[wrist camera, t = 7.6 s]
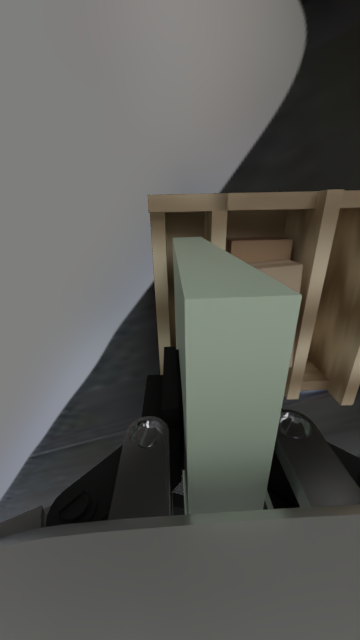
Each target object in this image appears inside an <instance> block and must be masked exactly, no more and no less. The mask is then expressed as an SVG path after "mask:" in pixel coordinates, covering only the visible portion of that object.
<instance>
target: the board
mask: <svg viewBox="0 0 360 640" xmlns="http://www.w3.org/2000/svg"><path fill="white" fill-rule="evenodd" d="M173 267H174V296H175V326H176V349H179V360H180V374H181V387H182V400H183V424H184V467H185V470H182V471H183V489H184V508H185V515H189V514H203V513H219V512H235V511H250V510H263V507H264V501H265V496H266V490H267V485H268V480H269V474H270V469H271V463H272V458H273V452H274V447H275V441H276V436H277V430H278V425H279V419H280V414H281V408H282V403H283V397H284V392H285V387H286V381H287V376H288V370H289V365H290V359H291V354H292V348H293V343H294V337H295V332H296V326H297V321H298V315H299V310H300V304H301V299H302V295H301V294H299V293H298V292H296V291H294V290H293V289H291V288H289V287H287V286H286V285H284V284H282V283H280V282H279V281H277V280H275V279H273V278H272V277H270V276H268V275H266V274H265V273H263V272H261V271H259V270H258V269H256V268H254V267H253V266H251V265H249V264H247V263H246V262H244V261H242V260H240V259H239V258H237V257H235V256H233V255H232V254H230V253H228V252H226V251H225V250H223V249H221V248H220V247H218V246H216V245H214V244H213V243H211V242H209V241H207V240H206V239H204V238H202V237H174V238H173Z"/></svg>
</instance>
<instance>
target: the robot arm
mask: <svg viewBox="0 0 360 640" xmlns="http://www.w3.org/2000/svg"><path fill="white" fill-rule="evenodd" d="M181 470H185V467H184V424H183V400H182V387H181V374H180V360H179V349H176V346H173V347H164V362H163V375H148V377H147V384H146V391H145V398H144V406H143V413H142V417H141V418H139V419H137V420H135V421H134V422H132V423H131V424H130V425H129V427H128V428H127V430H126V433H125V436H124V441H123V445H122V446H121V447H120V448H118V449H117V450H116V451H115V452H113V453H112V454H111V455H109V456H108V457H107V458H106V459H104V460H103V461H102V462H100V463H99V464H98V465H97V466H95V467H94V468H93V469H92V470H90V471H89V472H88V473H86V474H85V475H84V476H83V477H81V478H80V479H79V480H77V481H76V482H75V483H74V484H72V485H71V486H70V487H68V488H67V489H66V490H65V491H63V492H62V493H61V494H60V495H59V496H58V497H57V498H56V500H55V501H54V503H53V504H52V505H50V506H48V507H46V508H44V509H43V507H42V505H41V506H38V507H36V508H34V509H31V510H29V511H27V512H24V513H22V514H20V515H17V516H15V517H13V518H10V519H8V520H5V521H3V522H1V523H0V640H360V458H358V457H356V456H354V455H352V454H350V453H348V452H346V451H344V450H342V449H340V448H338V447H336V446H334V445H332V444H330V443H328V442H327V441H326V440H325V439H324V437H323V436H322V434H321V433H320V431H319V430H318V429H317V427H316V426H315V424H314V423H313V422H312V421H311V420H310V419H309V418H308V417H306V416H305V415H303V414H301V413H299V412H297V411H293V410H286V409H282V408H281V414H280V419H279V425H278V430H277V436H276V441H275V447H274V452H273V458H272V463H271V469H270V474H269V480H268V485H267V490H266V496H265V502H266V505H267V508H268V509H266V510H250V511H235V512H219V513H203V514H189V515H174V516H173V499H172V491H173V490H174V488H175V487H176V486H177V485H178V484H179V483H180V482H181Z"/></svg>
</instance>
